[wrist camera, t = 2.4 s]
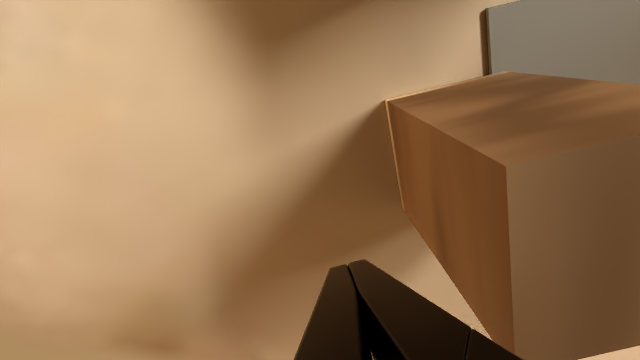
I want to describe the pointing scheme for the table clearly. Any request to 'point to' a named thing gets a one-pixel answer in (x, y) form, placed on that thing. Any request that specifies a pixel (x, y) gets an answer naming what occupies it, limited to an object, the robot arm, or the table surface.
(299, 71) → the table surface
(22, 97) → the table surface
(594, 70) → the felt pad
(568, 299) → the walnut block
